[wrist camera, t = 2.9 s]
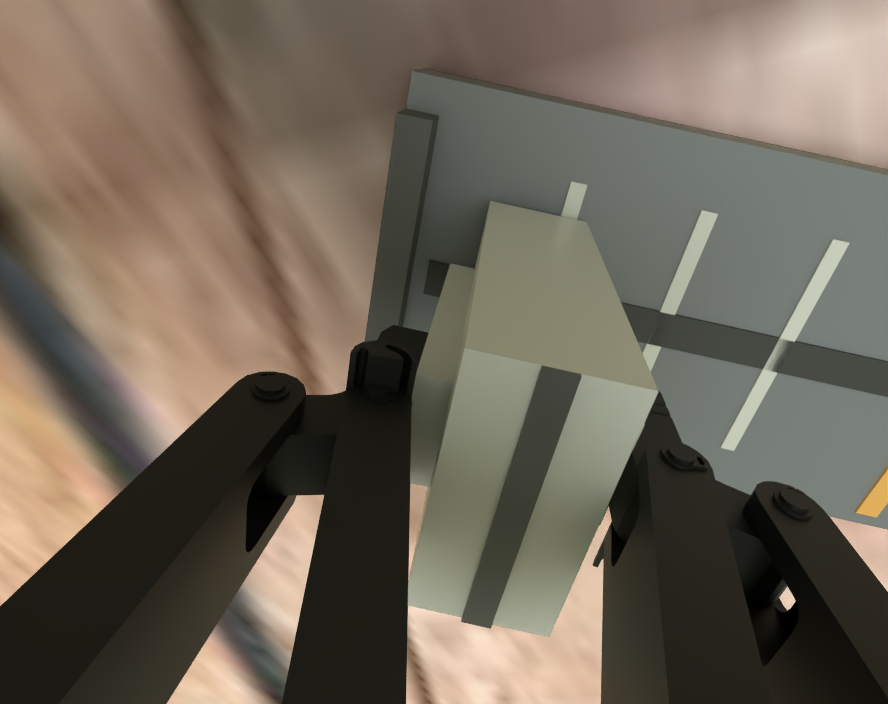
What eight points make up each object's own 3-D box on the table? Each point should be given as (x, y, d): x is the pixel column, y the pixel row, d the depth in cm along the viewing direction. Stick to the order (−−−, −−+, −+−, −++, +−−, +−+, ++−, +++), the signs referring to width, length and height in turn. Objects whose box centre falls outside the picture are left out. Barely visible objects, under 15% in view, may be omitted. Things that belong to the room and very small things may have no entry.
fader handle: (490, 200, 17) (464, 350, 8) (586, 221, 17) (659, 394, 8) (451, 367, 20) (402, 608, 11) (534, 386, 20) (549, 642, 11)
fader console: (426, 68, 19) (402, 72, 15) (1229, 244, 19) (1423, 296, 15) (378, 372, 24) (351, 434, 21) (992, 510, 24) (1085, 599, 20)
